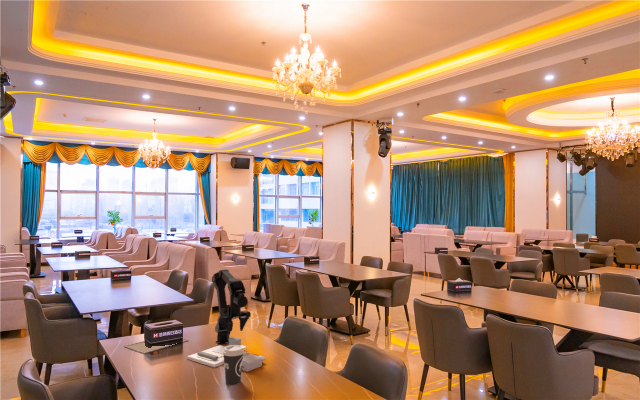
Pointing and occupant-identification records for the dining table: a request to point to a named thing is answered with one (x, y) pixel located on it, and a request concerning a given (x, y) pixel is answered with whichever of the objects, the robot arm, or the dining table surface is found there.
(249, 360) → the charger
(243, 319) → the robot arm
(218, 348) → the board
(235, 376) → the coffee cup
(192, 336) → the dining table surface
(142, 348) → the picture frame
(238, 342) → the cream plate grey block
